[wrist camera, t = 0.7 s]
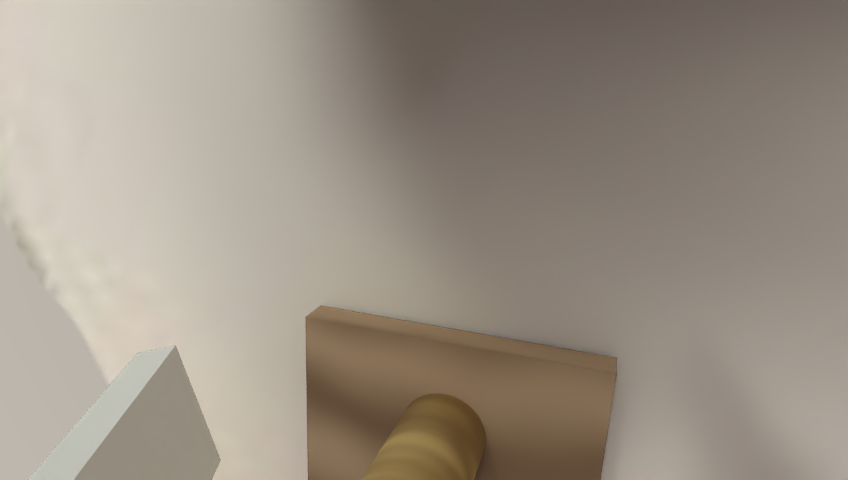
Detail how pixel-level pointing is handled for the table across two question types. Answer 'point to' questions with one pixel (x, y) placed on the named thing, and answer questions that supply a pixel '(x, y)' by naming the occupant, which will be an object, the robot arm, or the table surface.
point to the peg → (432, 442)
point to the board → (459, 377)
